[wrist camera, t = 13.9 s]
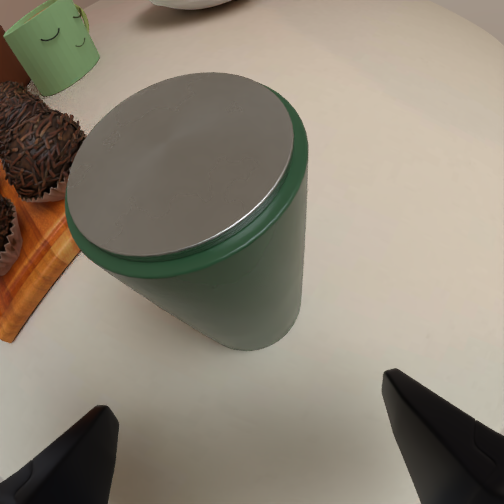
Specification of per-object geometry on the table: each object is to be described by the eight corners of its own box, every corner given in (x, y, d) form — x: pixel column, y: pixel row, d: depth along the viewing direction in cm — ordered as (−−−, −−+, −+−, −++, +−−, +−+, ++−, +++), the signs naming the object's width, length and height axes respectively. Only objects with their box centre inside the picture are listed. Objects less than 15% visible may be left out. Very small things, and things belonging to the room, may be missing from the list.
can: (320, 317, 17) (369, 176, 5) (223, 369, 16) (78, 327, 5) (269, 232, 19) (234, 45, 8) (181, 278, 19) (53, 136, 7)
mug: (70, 93, 31) (28, 23, 20) (30, 98, 33) (-8, 43, 22) (124, 39, 35) (96, -24, 24) (79, 48, 38) (52, -5, 27)
